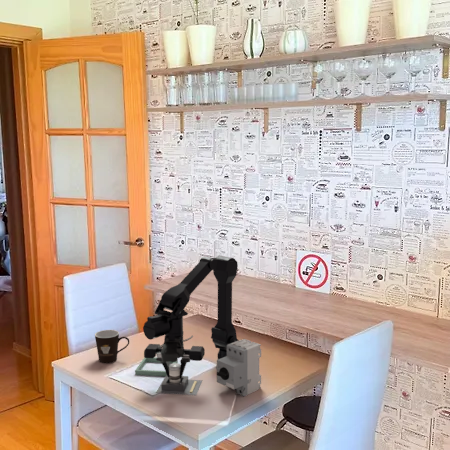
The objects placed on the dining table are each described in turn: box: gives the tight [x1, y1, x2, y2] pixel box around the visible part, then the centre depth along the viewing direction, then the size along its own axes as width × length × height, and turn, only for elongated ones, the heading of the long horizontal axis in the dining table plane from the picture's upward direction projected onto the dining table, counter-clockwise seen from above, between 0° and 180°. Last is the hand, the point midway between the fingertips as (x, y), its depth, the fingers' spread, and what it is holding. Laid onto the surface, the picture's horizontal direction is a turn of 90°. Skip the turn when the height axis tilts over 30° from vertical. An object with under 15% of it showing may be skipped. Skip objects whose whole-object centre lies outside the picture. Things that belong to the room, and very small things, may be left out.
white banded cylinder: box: [169, 362, 181, 384], centre depth 185 cm, size 4×4×7 cm
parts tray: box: [134, 356, 179, 377], centre depth 200 cm, size 12×12×2 cm
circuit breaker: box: [215, 338, 262, 397], centre depth 183 cm, size 8×14×15 cm, turn 134°
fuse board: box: [155, 375, 203, 396], centre depth 186 cm, size 13×11×3 cm
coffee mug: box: [94, 329, 130, 364], centre depth 209 cm, size 12×9×10 cm
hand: (174, 377), depth 185 cm, fingers closed on white banded cylinder, 4 cm apart
